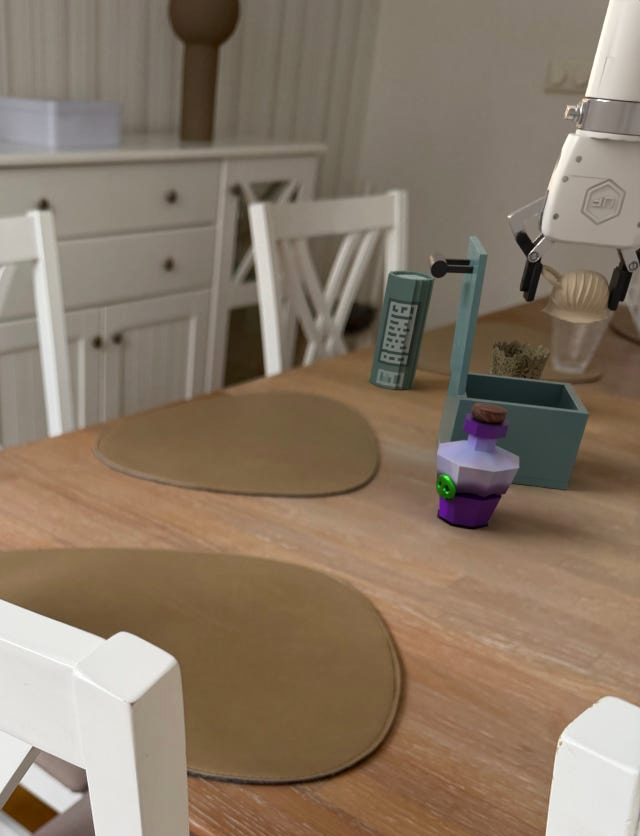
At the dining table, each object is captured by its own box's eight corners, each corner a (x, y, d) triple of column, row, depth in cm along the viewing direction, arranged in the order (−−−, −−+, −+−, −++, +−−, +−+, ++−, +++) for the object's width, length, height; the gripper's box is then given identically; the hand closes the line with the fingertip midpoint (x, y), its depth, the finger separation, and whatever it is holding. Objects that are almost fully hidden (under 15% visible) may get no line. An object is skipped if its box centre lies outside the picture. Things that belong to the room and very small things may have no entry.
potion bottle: (406, 516, 102) (430, 403, 95) (443, 494, 107) (468, 386, 101) (484, 543, 97) (515, 427, 91) (518, 519, 103) (549, 408, 97)
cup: (469, 401, 137) (483, 343, 133) (497, 392, 141) (511, 336, 137) (517, 416, 132) (533, 357, 128) (544, 407, 137) (560, 349, 133)
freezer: (550, 454, 120) (570, 383, 116) (566, 490, 111) (589, 413, 106) (436, 440, 122) (452, 370, 117) (442, 474, 112) (459, 398, 108)
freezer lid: (477, 236, 110) (429, 234, 110) (487, 254, 100) (435, 252, 101) (456, 366, 117) (411, 364, 118) (464, 395, 107) (416, 392, 108)
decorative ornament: (609, 328, 104) (625, 276, 102) (528, 319, 106) (541, 267, 103) (604, 319, 108) (619, 268, 105) (526, 310, 109) (538, 260, 106)
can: (415, 380, 144) (436, 274, 136) (409, 392, 139) (431, 282, 131) (374, 374, 146) (393, 268, 138) (366, 384, 141) (386, 276, 133)
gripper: (534, 116, 95) (490, 302, 104) (722, 132, 93) (660, 320, 102) (523, 112, 101) (483, 288, 110) (699, 127, 99) (643, 304, 108)
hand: (568, 302), depth 106 cm, fingers closed on decorative ornament, 8 cm apart
